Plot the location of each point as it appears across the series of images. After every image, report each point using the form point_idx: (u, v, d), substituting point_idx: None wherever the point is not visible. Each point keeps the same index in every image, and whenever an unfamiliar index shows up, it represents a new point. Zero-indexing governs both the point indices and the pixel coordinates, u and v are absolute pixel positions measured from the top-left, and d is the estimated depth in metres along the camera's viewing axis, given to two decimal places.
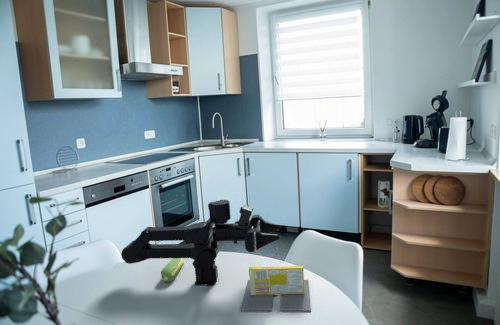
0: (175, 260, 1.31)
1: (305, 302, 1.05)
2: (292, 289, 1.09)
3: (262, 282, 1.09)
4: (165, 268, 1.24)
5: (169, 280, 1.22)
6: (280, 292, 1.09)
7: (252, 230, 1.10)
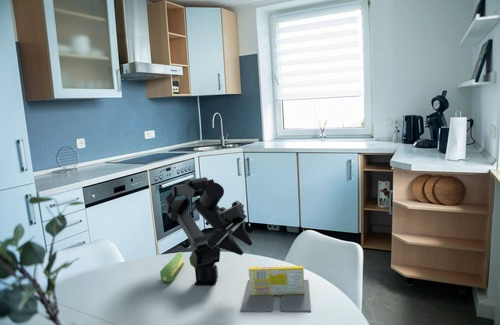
0: (175, 260, 1.31)
1: (305, 302, 1.05)
2: (292, 289, 1.09)
3: (262, 282, 1.09)
4: (164, 268, 1.24)
5: (168, 280, 1.22)
6: (280, 292, 1.09)
7: (225, 232, 1.05)
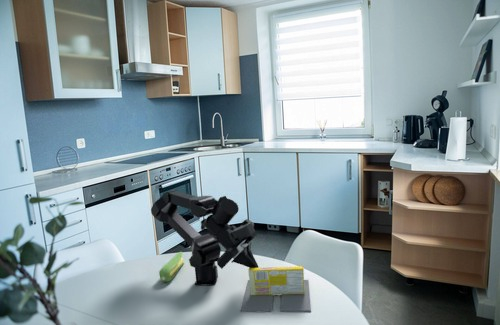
0: (174, 260, 1.31)
1: (305, 302, 1.05)
2: (292, 289, 1.09)
3: (262, 282, 1.09)
4: (163, 268, 1.24)
5: (167, 280, 1.22)
6: (280, 292, 1.09)
7: (235, 252, 1.05)
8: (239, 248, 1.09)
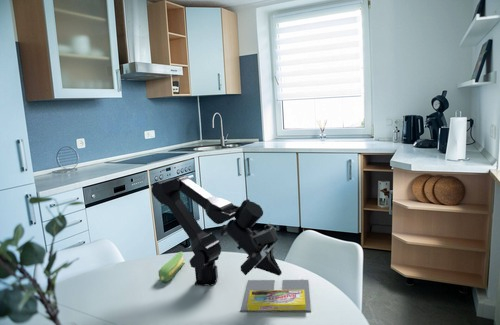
0: (174, 260, 1.31)
1: (305, 302, 1.05)
2: None
3: None
4: (163, 267, 1.24)
5: (166, 280, 1.22)
6: None
7: (259, 258, 1.02)
8: (262, 253, 1.07)
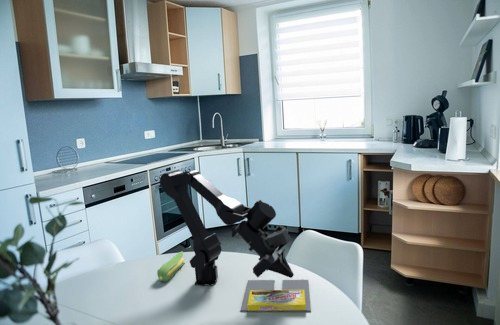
0: (174, 259, 1.31)
1: (305, 302, 1.05)
2: None
3: None
4: (161, 267, 1.24)
5: (164, 279, 1.23)
6: None
7: (272, 260, 1.01)
8: (274, 255, 1.05)
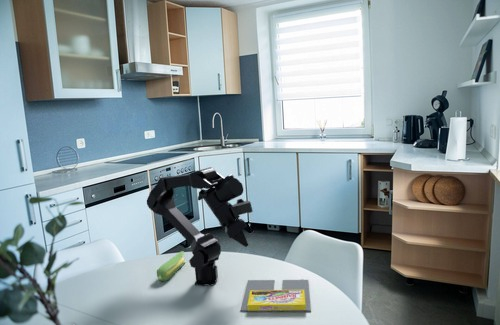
0: (174, 259, 1.31)
1: (305, 302, 1.05)
2: None
3: None
4: (161, 267, 1.25)
5: (163, 279, 1.23)
6: None
7: None
8: None
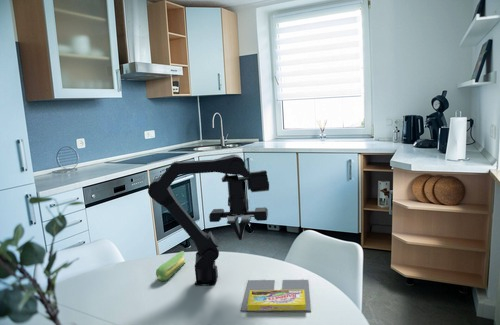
0: (174, 259, 1.32)
1: (305, 302, 1.05)
2: None
3: None
4: (160, 267, 1.25)
5: (163, 279, 1.23)
6: None
7: None
8: None
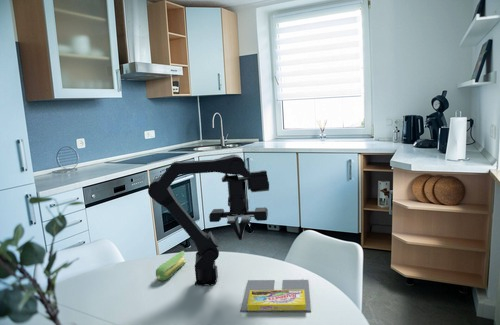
0: (174, 259, 1.32)
1: (305, 302, 1.05)
2: None
3: None
4: (160, 266, 1.25)
5: (162, 279, 1.23)
6: None
7: None
8: None
